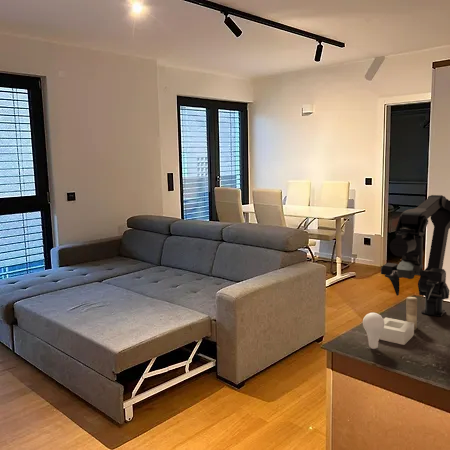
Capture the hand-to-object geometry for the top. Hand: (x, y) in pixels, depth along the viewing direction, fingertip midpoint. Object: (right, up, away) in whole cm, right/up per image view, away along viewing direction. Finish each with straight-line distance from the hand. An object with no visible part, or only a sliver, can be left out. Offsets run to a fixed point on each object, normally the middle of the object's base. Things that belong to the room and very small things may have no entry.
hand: (412, 297), depth 147 cm
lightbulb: (-17, -13, -13) cm, 25 cm away
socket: (-7, -11, -5) cm, 15 cm away
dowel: (0, -10, +1) cm, 10 cm away
